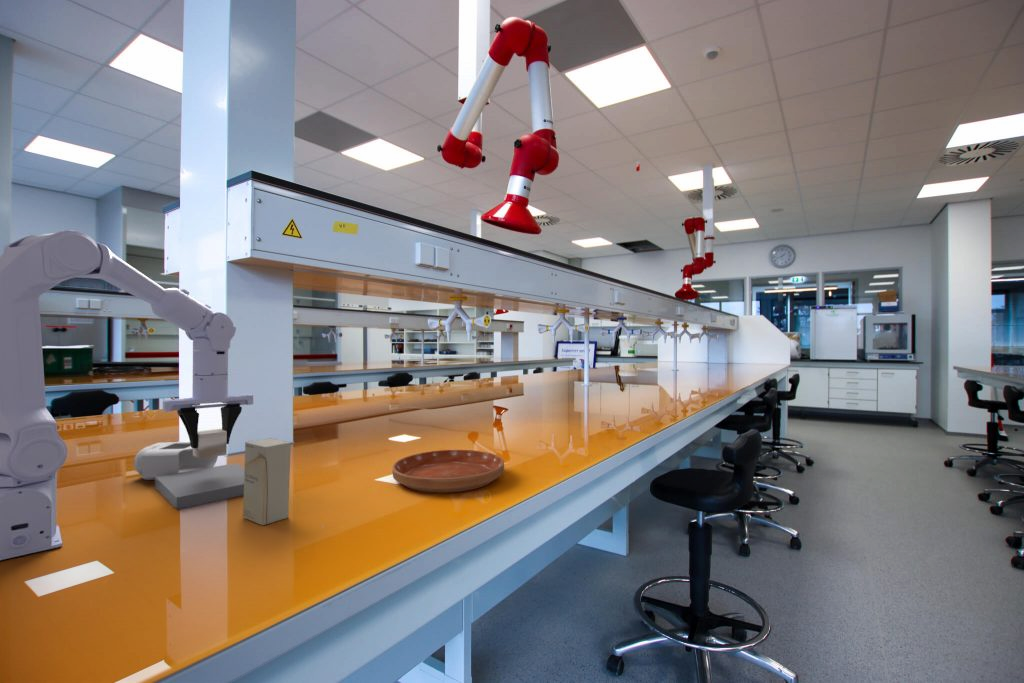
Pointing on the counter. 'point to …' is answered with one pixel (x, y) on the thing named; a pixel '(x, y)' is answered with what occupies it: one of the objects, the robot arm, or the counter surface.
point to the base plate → (201, 485)
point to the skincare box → (266, 480)
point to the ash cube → (211, 443)
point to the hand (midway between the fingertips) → (210, 445)
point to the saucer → (448, 470)
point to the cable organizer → (169, 460)
